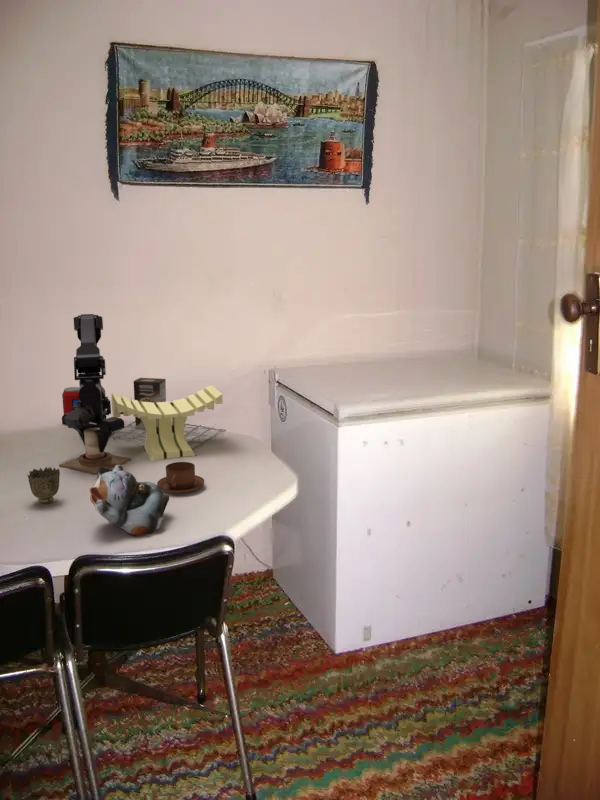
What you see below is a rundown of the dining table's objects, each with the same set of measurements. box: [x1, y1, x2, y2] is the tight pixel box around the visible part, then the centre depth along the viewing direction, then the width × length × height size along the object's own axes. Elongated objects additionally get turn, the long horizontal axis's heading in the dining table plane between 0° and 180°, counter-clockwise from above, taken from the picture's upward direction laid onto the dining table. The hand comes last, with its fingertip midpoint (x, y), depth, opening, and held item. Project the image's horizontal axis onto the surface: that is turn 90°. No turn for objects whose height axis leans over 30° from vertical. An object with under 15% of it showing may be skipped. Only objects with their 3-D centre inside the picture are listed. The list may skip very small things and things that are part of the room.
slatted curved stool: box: [111, 385, 224, 461], centre depth 222 cm, size 30×16×18 cm, turn 110°
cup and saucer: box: [156, 461, 205, 494], centre depth 192 cm, size 12×12×6 cm
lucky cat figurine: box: [89, 465, 170, 537], centre depth 168 cm, size 17×14×16 cm
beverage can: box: [61, 386, 80, 415], centre depth 252 cm, size 7×7×12 cm
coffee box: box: [132, 377, 167, 430], centre depth 248 cm, size 9×6×16 cm
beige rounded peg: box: [84, 428, 105, 460], centre depth 211 cm, size 5×5×8 cm
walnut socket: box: [58, 451, 132, 476], centre depth 212 cm, size 14×14×2 cm
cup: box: [27, 466, 61, 505], centre depth 183 cm, size 8×7×8 cm
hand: (94, 450), depth 212 cm, fingers closed on beige rounded peg, 5 cm apart
